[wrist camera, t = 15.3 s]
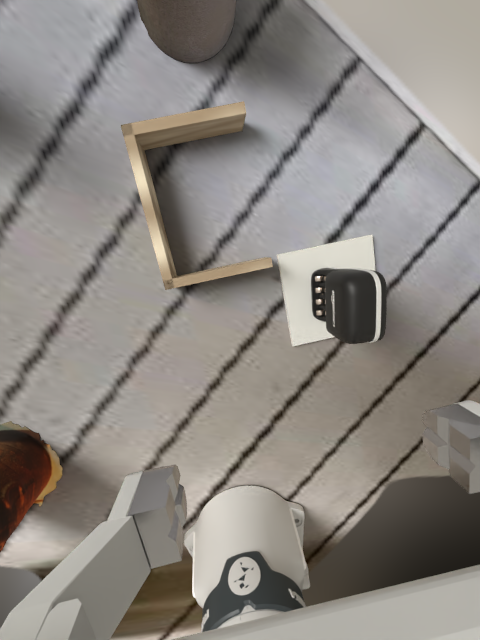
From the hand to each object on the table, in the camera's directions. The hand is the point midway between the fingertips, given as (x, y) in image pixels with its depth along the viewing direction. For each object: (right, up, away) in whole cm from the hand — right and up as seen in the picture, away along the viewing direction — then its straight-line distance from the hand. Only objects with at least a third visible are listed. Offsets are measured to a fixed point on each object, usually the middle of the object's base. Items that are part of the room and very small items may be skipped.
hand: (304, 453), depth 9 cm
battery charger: (+8, +8, +27) cm, 29 cm away
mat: (+9, +8, +27) cm, 30 cm away
